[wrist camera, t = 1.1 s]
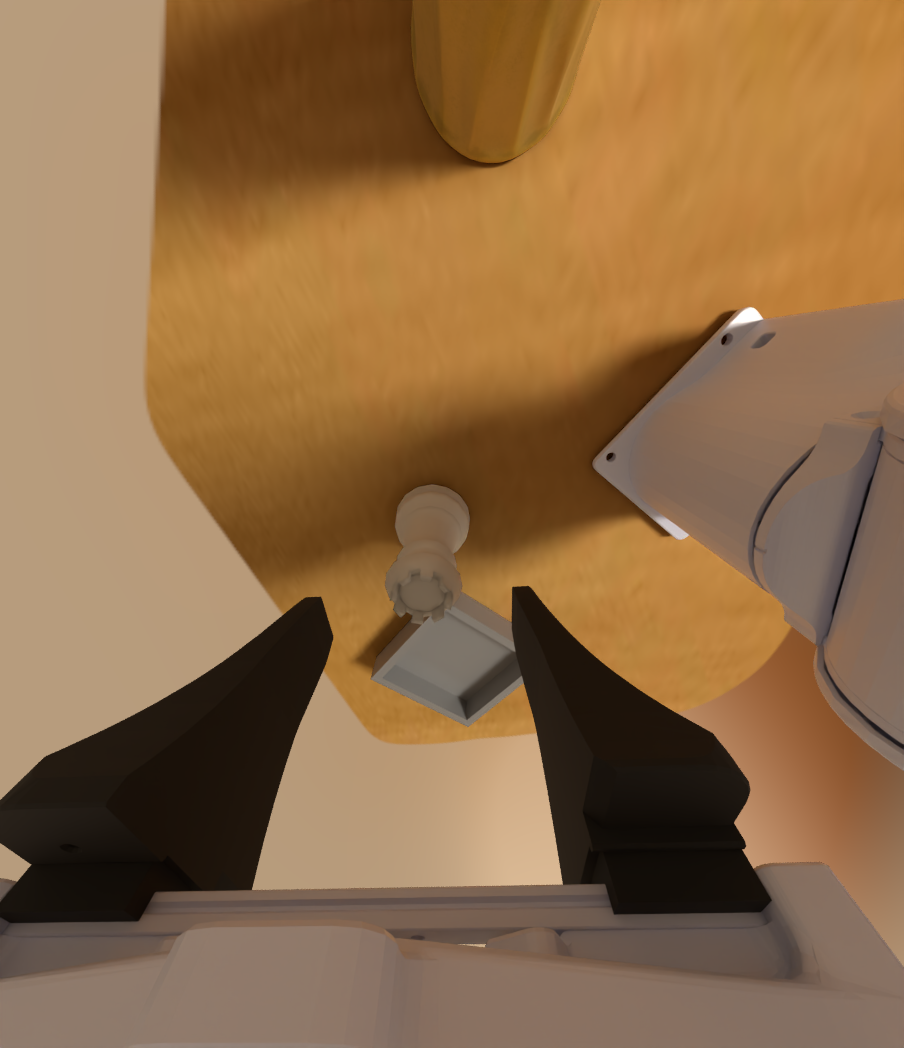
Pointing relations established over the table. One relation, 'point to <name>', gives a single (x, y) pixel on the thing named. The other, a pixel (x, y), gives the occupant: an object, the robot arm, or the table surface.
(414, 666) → the tray
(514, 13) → the vase
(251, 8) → the table surface
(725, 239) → the table surface
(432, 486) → the rook chess piece
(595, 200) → the table surface
